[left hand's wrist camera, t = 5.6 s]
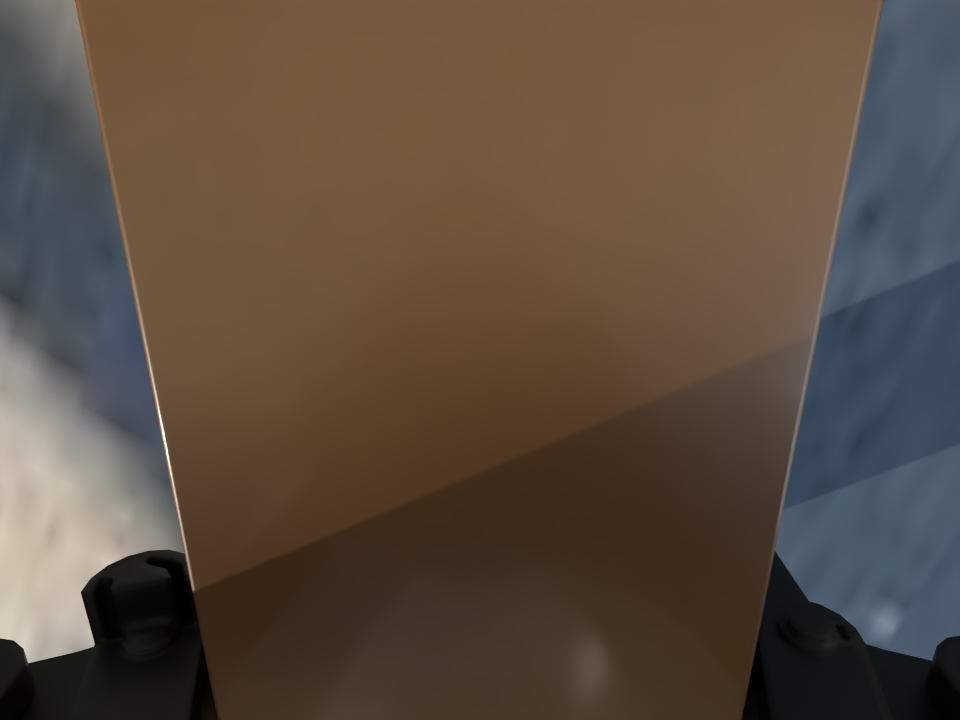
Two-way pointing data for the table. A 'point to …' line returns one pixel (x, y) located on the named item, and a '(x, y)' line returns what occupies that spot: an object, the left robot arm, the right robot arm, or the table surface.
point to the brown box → (479, 334)
